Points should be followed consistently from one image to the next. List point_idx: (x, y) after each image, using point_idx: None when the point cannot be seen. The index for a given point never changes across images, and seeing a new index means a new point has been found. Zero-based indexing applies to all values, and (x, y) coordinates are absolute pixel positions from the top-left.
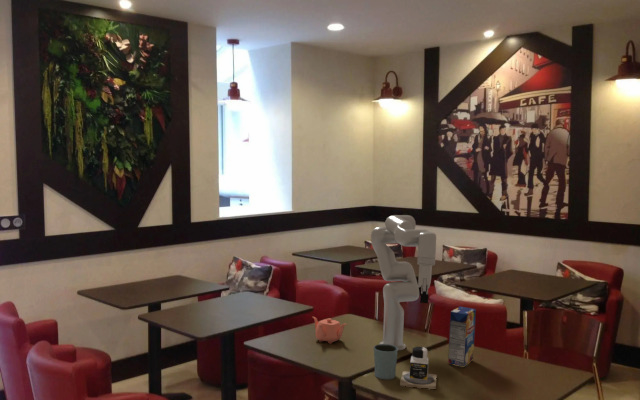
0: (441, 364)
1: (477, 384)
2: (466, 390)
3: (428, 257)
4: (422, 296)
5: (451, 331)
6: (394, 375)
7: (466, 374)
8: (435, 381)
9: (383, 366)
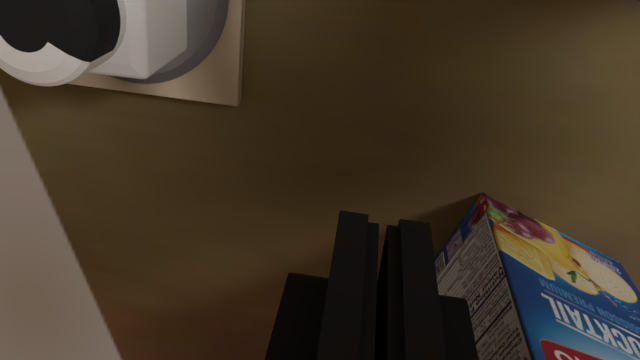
0: (475, 154)
1: (204, 287)
2: (108, 226)
3: None
4: (271, 348)
5: (517, 344)
6: None
7: (330, 262)
8: (124, 87)
9: None
